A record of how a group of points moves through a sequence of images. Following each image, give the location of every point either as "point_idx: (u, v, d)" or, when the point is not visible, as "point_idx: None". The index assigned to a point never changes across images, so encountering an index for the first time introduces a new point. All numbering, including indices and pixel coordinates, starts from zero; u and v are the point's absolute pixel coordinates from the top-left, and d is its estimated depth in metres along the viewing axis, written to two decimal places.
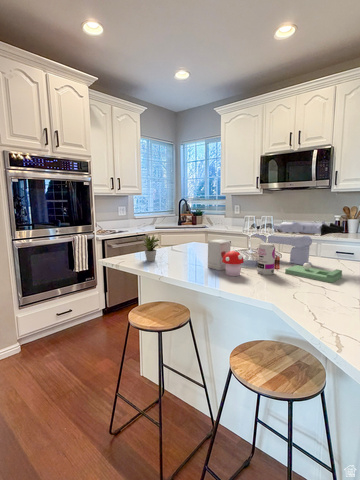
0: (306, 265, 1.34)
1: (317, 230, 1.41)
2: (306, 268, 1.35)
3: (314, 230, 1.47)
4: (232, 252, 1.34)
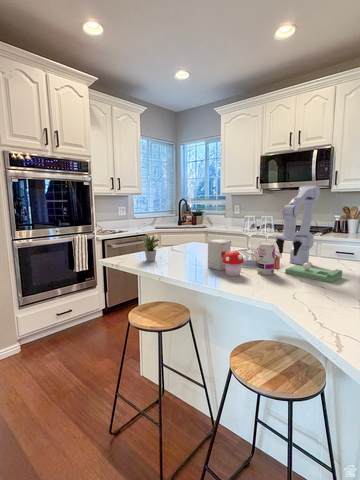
0: (306, 265, 1.34)
1: None
2: (306, 268, 1.35)
3: None
4: (232, 252, 1.34)
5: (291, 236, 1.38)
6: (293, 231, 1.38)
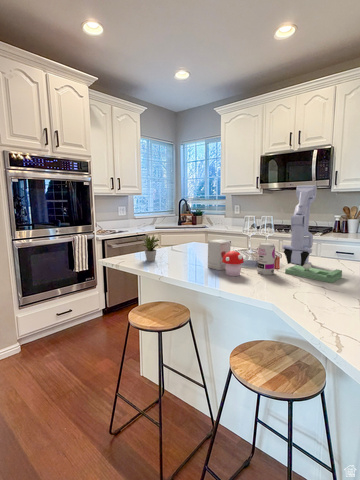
0: (306, 265, 1.34)
1: None
2: (306, 268, 1.35)
3: None
4: (232, 252, 1.34)
5: (299, 246, 1.36)
6: (301, 242, 1.35)
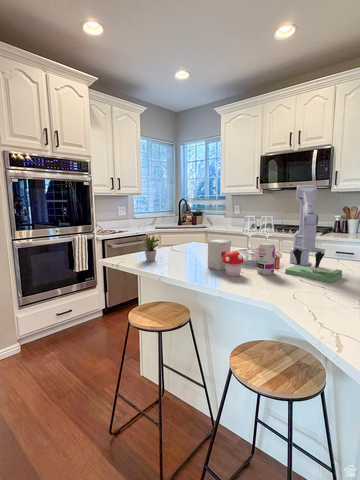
0: (313, 270, 1.32)
1: None
2: (311, 268, 1.33)
3: None
4: (232, 252, 1.34)
5: (311, 247, 1.31)
6: (314, 242, 1.31)
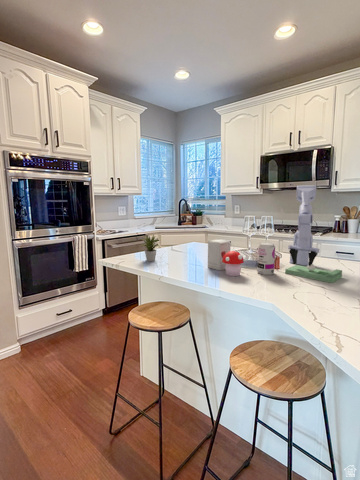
0: (311, 268, 1.33)
1: None
2: (308, 269, 1.34)
3: None
4: (232, 252, 1.34)
5: (306, 246, 1.33)
6: (308, 241, 1.33)
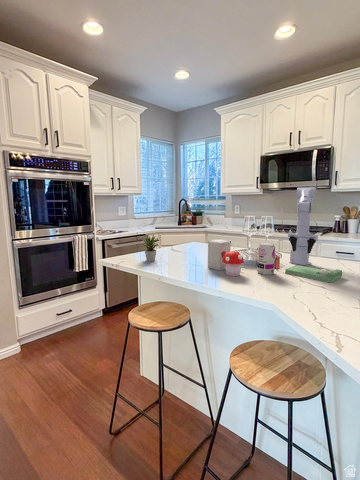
0: None
1: None
2: (326, 274, 1.30)
3: None
4: (232, 252, 1.34)
5: (305, 233, 1.36)
6: (307, 229, 1.36)
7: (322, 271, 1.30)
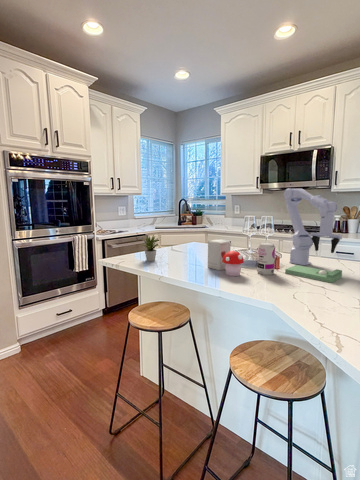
0: None
1: None
2: None
3: None
4: (232, 252, 1.34)
5: (329, 233, 1.37)
6: (331, 228, 1.37)
7: None
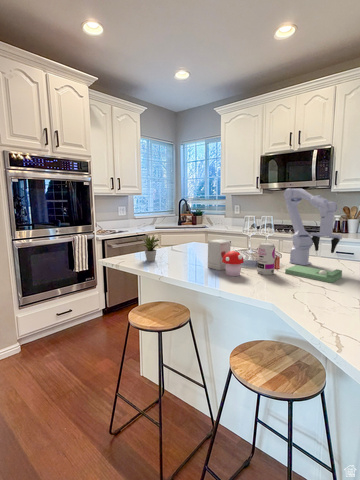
0: None
1: None
2: None
3: None
4: (232, 252, 1.34)
5: (329, 233, 1.37)
6: (331, 228, 1.37)
7: None
